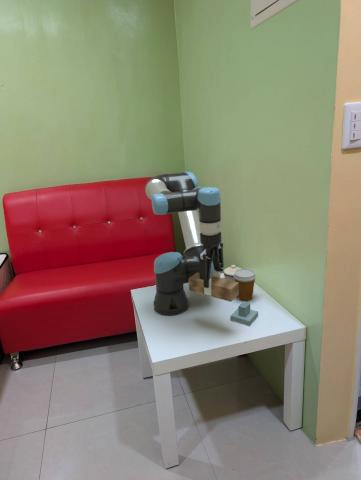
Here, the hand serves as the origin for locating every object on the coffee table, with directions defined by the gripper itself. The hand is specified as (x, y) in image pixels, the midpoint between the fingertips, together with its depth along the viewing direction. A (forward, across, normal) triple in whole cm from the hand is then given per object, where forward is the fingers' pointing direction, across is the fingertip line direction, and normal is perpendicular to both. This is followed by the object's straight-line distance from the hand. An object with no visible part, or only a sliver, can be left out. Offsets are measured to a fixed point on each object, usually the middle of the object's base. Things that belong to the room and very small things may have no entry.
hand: (212, 290), depth 131 cm
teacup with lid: (+15, +29, +8) cm, 34 cm away
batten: (+1, 0, 0) cm, 1 cm away
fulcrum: (+15, +10, -8) cm, 19 cm away
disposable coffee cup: (+15, +25, -1) cm, 29 cm away
